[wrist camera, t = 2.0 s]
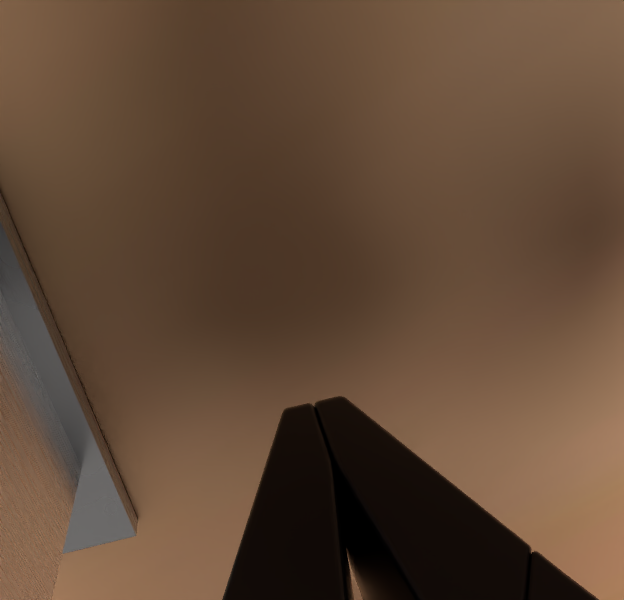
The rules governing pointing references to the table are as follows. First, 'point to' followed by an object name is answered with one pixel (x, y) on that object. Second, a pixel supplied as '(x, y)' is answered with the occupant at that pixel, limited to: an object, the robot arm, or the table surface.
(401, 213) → the table surface
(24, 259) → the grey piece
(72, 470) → the block
